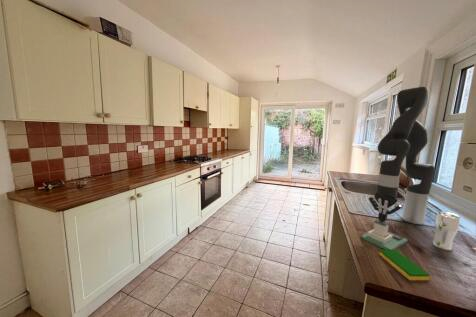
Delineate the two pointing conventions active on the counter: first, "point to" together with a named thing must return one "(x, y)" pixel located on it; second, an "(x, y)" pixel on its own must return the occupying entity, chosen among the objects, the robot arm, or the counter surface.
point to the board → (385, 240)
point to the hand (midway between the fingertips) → (382, 220)
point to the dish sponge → (404, 265)
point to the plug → (381, 228)
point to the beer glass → (445, 230)
